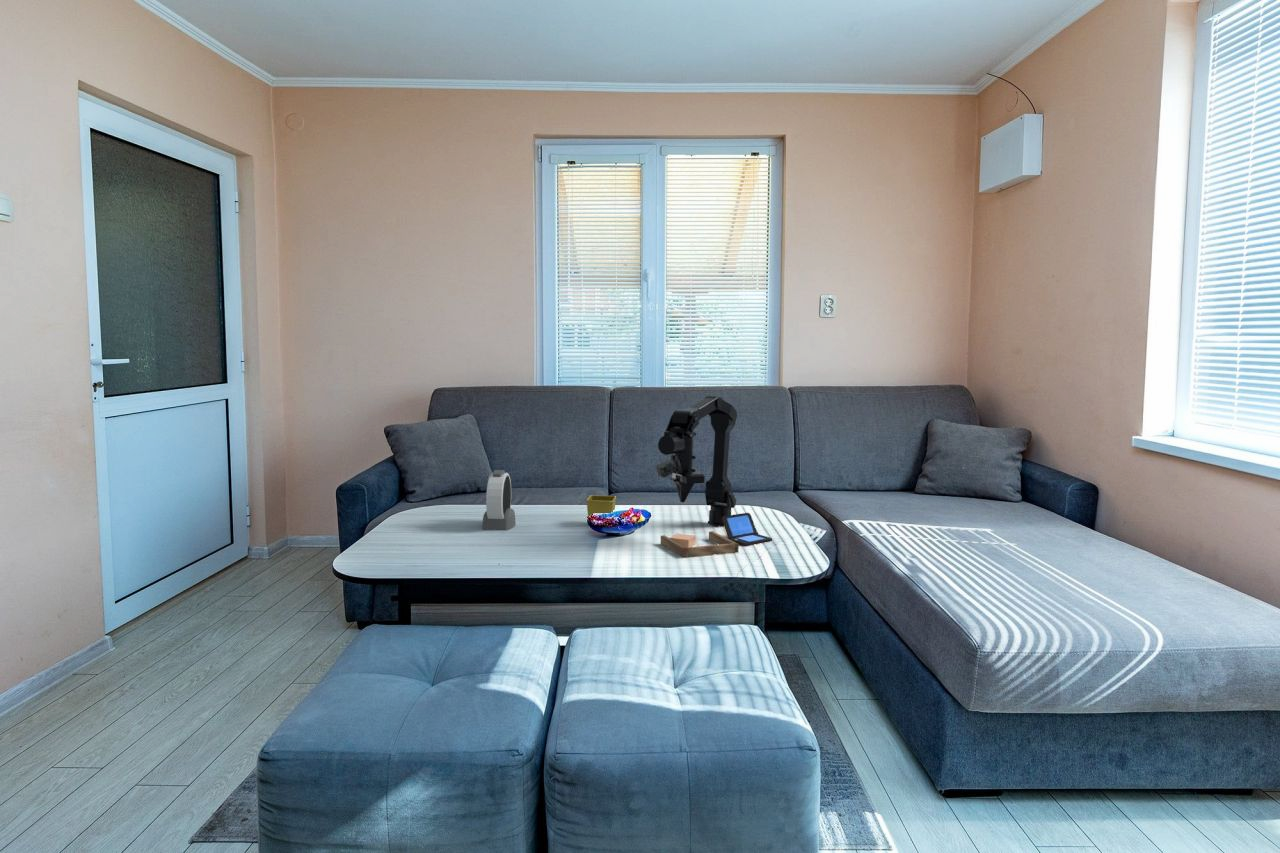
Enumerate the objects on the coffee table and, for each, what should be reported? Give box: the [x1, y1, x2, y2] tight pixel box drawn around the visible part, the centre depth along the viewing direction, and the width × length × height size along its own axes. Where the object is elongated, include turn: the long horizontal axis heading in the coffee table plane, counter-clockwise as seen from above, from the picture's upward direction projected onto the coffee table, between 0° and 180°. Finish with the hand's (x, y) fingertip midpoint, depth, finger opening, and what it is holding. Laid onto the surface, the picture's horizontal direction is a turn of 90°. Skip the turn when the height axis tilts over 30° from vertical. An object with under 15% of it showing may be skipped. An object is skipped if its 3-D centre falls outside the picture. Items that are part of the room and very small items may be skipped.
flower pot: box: [586, 494, 617, 518], centre depth 257 cm, size 9×9×9 cm
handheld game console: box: [722, 512, 773, 547], centre depth 240 cm, size 12×11×7 cm
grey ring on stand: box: [482, 469, 516, 531], centre depth 253 cm, size 16×10×18 cm, turn 179°
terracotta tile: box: [669, 533, 696, 548], centre depth 232 cm, size 6×6×3 cm
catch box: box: [660, 530, 740, 559], centre depth 230 cm, size 17×16×2 cm
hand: (682, 502), depth 239 cm, fingers closed
